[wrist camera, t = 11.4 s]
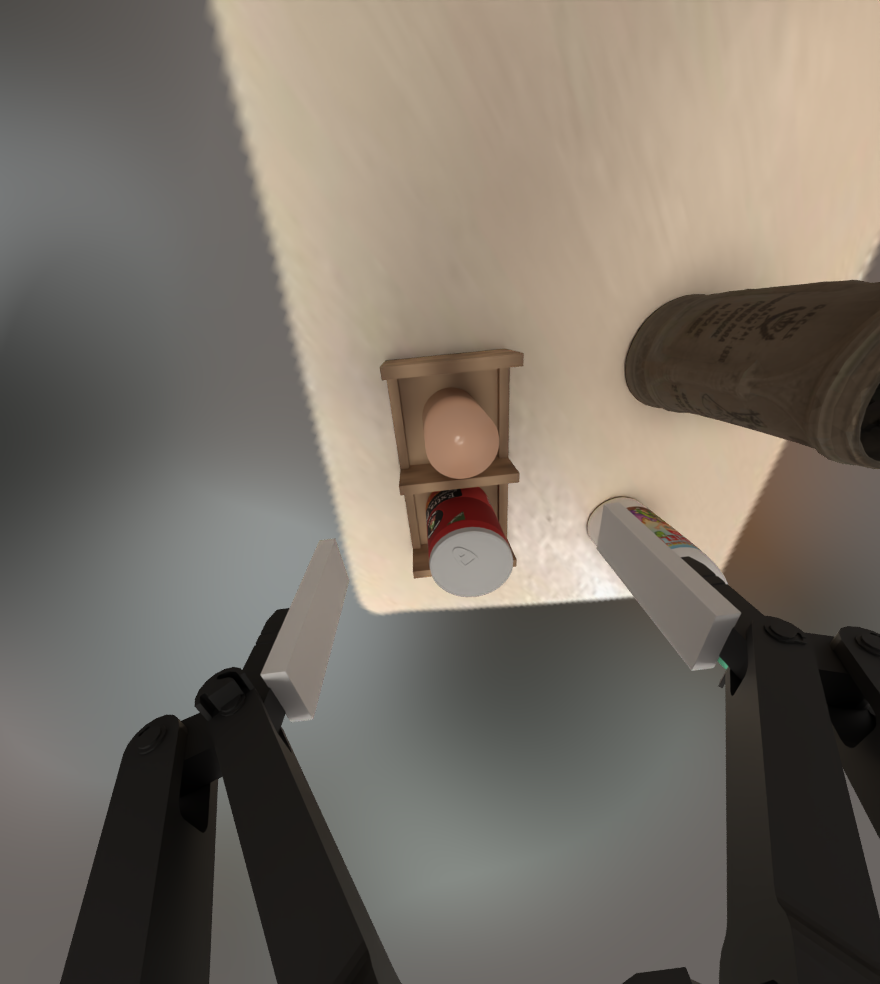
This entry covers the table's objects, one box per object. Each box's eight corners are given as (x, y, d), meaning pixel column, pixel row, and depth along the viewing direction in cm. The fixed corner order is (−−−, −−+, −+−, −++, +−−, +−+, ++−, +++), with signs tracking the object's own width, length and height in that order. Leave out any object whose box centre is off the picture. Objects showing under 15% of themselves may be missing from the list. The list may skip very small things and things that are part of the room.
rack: (505, 348, 32) (523, 353, 27) (503, 536, 43) (516, 566, 37) (385, 360, 32) (379, 367, 26) (413, 546, 42) (414, 578, 37)
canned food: (446, 465, 36) (459, 517, 26) (502, 496, 39) (532, 554, 29) (412, 515, 39) (412, 579, 29) (466, 541, 41) (483, 608, 32)
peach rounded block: (478, 384, 32) (499, 403, 24) (479, 441, 35) (499, 474, 27) (419, 390, 32) (421, 411, 24) (425, 446, 35) (429, 482, 27)
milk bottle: (631, 543, 45) (773, 685, 27) (578, 543, 44) (689, 689, 27) (650, 495, 41) (828, 621, 24) (594, 494, 41) (733, 624, 23)
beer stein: (597, 373, 34) (815, 439, 16) (674, 265, 30) (1069, 201, 12) (686, 434, 39) (922, 533, 22) (761, 350, 35) (1125, 387, 18)
